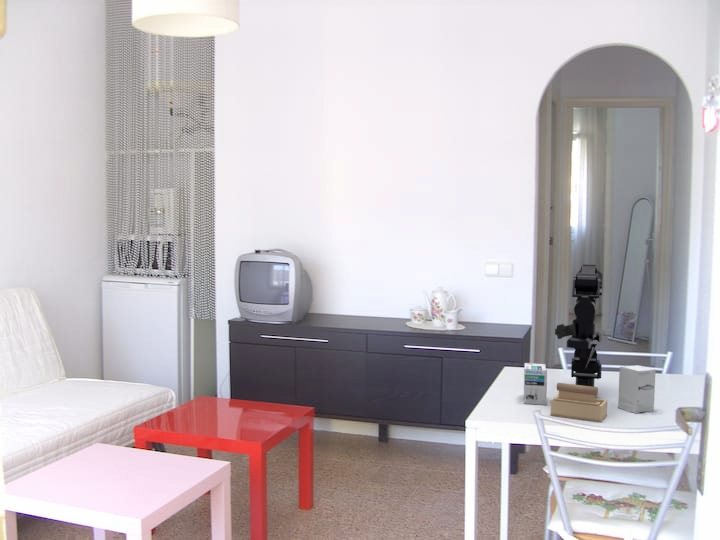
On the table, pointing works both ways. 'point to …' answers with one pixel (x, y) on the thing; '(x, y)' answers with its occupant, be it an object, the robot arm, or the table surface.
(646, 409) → the supplement box
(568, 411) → the carton
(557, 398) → the flap
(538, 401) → the light bulb box
